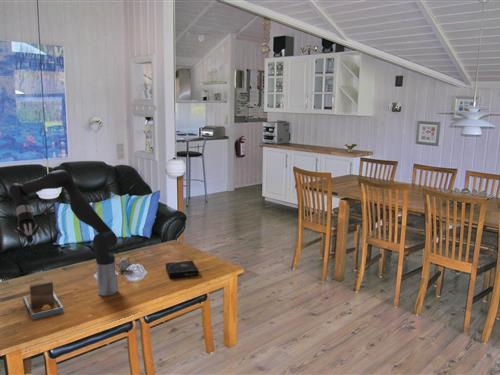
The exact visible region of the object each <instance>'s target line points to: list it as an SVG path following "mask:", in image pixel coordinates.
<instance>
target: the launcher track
mask: <svg viewBox="0 0 500 375" xmlns="http://www.w3.org/2000/svg"><path fill="white" fill-rule="evenodd" d="M53 294H54V302H55V304H57V299H59V298H58V296H57V295H56V293H55V292H54V290H53ZM23 302H24V303H25V306H26V308H27V311H28V312H29V308H28V306H31V304H30V303H29V300H28V298H27V296H26V295H25V296H23Z"/></svg>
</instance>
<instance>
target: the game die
mask: <svg viewBox="0 0 500 375" xmlns="http://www.w3.org/2000/svg"><path fill="white" fill-rule="evenodd" d="M119 258H120V259H119V261H118V262H117V263H115V266H116V265H117V267H118V269H119V271H126V269H127V268H128V267H129V266H130V265H131V266H132V265H133V264H132V263H131V262H130V259H129V258H130V257H128V258H127V257H126V258H122V256H121V257H119ZM131 266H130V267H131ZM130 267H129V268H130Z"/></svg>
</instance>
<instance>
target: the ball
mask: <svg viewBox="0 0 500 375" xmlns="http://www.w3.org/2000/svg"><path fill="white" fill-rule="evenodd" d="M41 307H42V308H41V312H43V311H47V310H51V309H52V307H51V304H47V305H43V306H41Z"/></svg>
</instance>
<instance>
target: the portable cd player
mask: <svg viewBox="0 0 500 375" xmlns="http://www.w3.org/2000/svg"><path fill="white" fill-rule="evenodd" d="M165 271H166V274H167V276H168V278H169V280H174V279H182V278H185V279H186V278H191V277H193V278H194V277H198V276H199V270H198V268H197V266H196V264H195V262H194V260H183V261H177V262H176V261H175V262H166V263H165Z"/></svg>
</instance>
